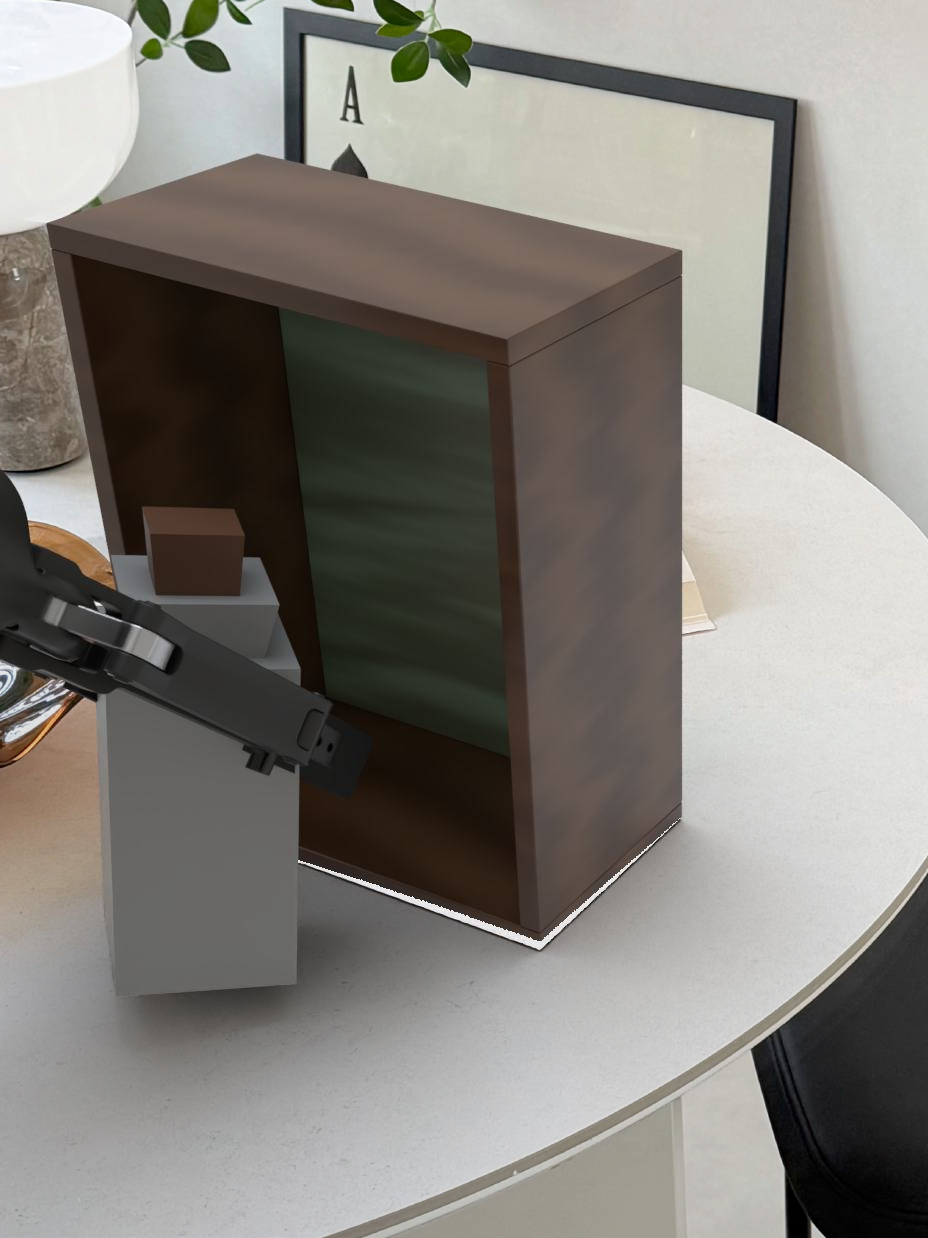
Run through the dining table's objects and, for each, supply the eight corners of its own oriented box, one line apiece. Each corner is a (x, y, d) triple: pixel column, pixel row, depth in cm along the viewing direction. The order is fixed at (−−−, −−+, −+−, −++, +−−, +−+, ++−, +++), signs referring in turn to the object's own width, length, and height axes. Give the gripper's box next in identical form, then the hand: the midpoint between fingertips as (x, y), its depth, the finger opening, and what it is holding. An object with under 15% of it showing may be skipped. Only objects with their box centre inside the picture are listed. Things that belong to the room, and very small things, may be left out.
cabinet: (540, 952, 84) (507, 338, 68) (157, 812, 90) (45, 222, 75) (682, 818, 93) (683, 249, 77) (324, 700, 99) (256, 152, 83)
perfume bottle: (296, 984, 78) (301, 552, 71) (116, 996, 76) (100, 548, 68) (273, 906, 84) (275, 496, 76) (103, 915, 81) (88, 490, 73)
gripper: (165, 486, 55) (517, 722, 77) (-352, 329, 62) (107, 588, 83) (60, 729, 55) (445, 899, 76) (-453, 545, 61) (37, 750, 82)
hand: (268, 737), depth 80 cm, fingers closed on perfume bottle, 8 cm apart
